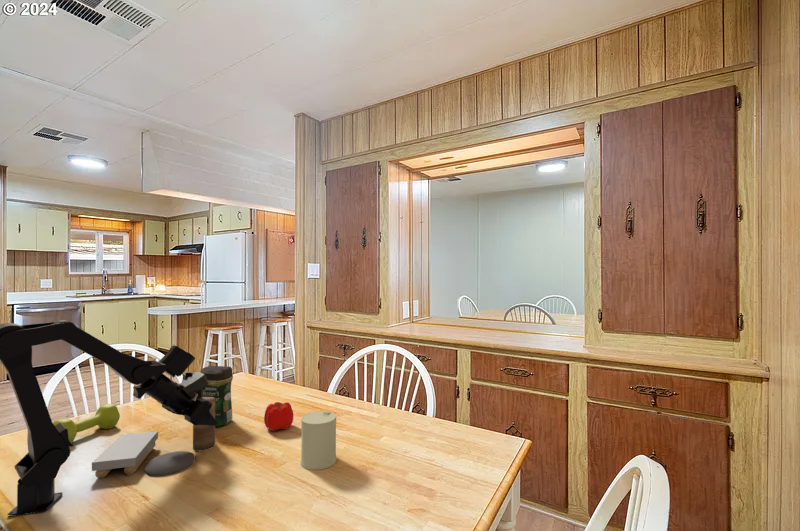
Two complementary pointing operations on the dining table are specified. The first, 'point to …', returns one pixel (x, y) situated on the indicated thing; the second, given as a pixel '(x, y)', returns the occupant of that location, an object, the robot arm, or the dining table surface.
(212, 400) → the walnut roller
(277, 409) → the tomato
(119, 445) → the grey slab
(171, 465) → the dark grey flat disc
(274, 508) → the dining table surface
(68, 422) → the dumbbell
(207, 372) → the coffee jar
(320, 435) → the can
